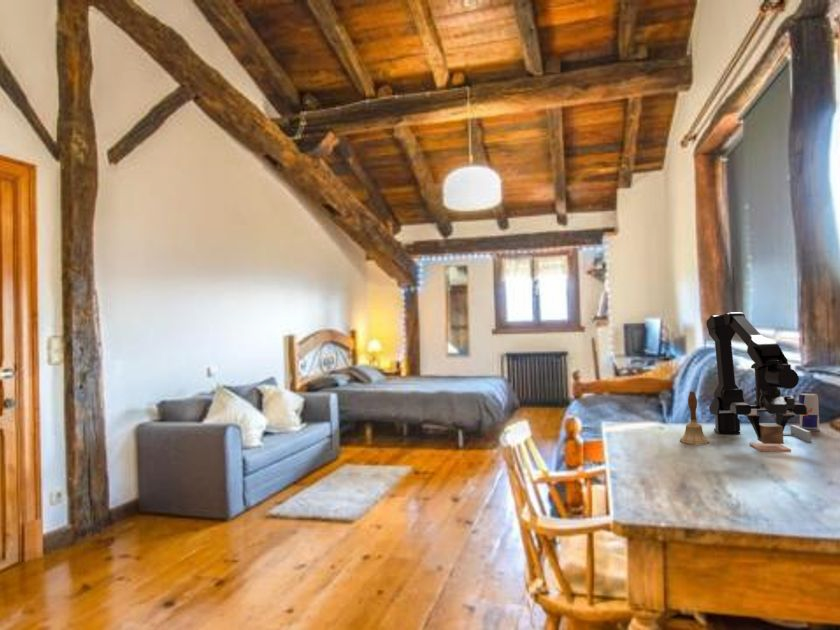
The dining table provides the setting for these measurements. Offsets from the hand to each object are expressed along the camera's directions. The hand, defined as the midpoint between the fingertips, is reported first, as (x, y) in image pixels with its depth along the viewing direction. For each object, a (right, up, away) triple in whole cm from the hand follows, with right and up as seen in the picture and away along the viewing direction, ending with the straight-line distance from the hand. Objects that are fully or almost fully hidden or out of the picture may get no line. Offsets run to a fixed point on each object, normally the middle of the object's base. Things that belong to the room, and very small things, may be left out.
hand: (769, 437), depth 161 cm
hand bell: (-16, -4, +12) cm, 20 cm away
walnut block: (0, -1, -1) cm, 1 cm away
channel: (+14, -3, +12) cm, 18 cm away
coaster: (0, -3, 0) cm, 3 cm away
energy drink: (+28, -3, +22) cm, 36 cm away
